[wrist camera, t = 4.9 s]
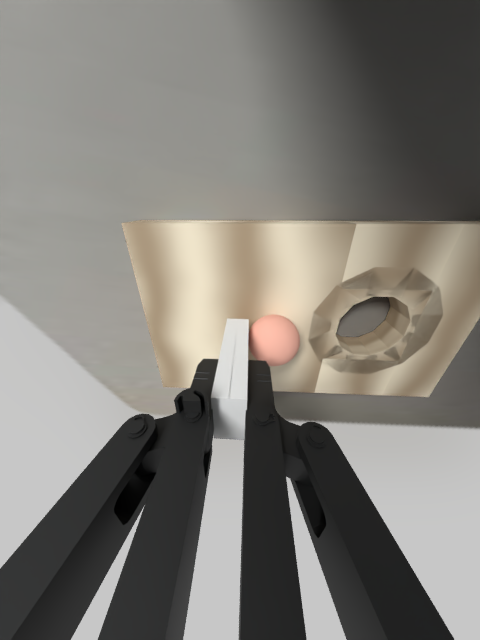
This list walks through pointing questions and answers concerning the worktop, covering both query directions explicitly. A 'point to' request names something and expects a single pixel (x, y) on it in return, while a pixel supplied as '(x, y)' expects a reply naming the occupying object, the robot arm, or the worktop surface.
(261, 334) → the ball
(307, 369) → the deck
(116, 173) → the worktop surface
